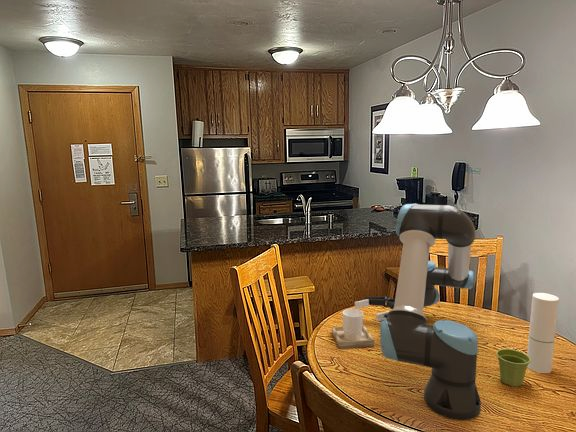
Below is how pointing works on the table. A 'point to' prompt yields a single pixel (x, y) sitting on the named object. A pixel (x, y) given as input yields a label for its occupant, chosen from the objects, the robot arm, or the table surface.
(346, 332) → the white cup
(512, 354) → the plant pot
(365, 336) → the birch tray
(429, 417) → the table surface
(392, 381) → the table surface
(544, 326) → the cylindrical container
